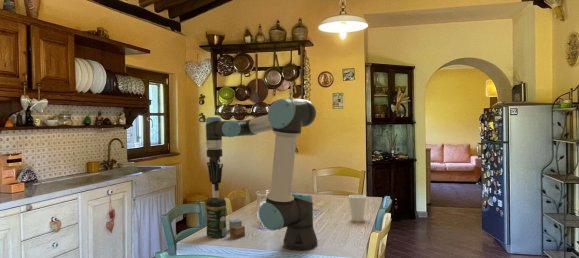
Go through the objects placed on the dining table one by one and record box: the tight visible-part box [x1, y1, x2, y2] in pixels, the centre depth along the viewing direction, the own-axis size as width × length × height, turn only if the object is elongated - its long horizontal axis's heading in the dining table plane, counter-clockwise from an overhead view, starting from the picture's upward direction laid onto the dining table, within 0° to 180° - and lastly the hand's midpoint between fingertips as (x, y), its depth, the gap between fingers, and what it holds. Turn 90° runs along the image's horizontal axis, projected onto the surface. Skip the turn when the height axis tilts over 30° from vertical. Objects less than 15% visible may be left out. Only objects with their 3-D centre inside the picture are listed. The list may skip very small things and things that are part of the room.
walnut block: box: [229, 225, 246, 240], centre depth 192 cm, size 5×5×5 cm
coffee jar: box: [205, 197, 228, 239], centre depth 194 cm, size 10×8×19 cm
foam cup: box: [348, 194, 367, 222], centre depth 218 cm, size 10×9×13 cm
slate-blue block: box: [228, 218, 243, 231], centre depth 204 cm, size 5×5×5 cm
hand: (215, 197), depth 194 cm, fingers closed
